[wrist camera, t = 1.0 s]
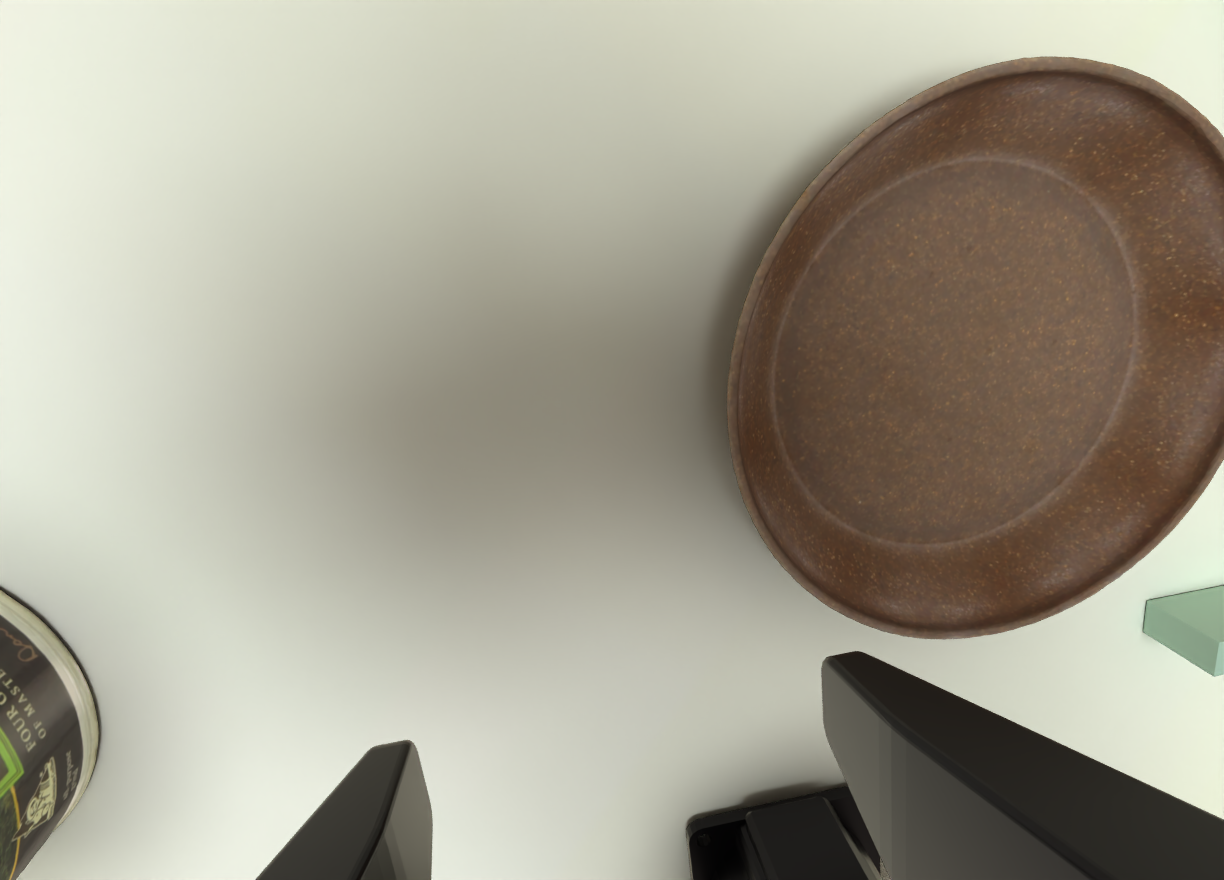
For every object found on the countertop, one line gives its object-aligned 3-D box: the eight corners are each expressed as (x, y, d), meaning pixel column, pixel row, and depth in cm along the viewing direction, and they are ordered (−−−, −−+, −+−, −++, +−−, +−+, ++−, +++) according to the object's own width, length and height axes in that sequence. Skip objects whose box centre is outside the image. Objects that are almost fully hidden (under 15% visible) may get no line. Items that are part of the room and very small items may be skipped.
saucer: (1249, 404, 22) (1346, 427, 20) (863, 679, 23) (908, 736, 20) (1063, -49, 18) (1158, -97, 15) (591, 316, 18) (605, 330, 16)
